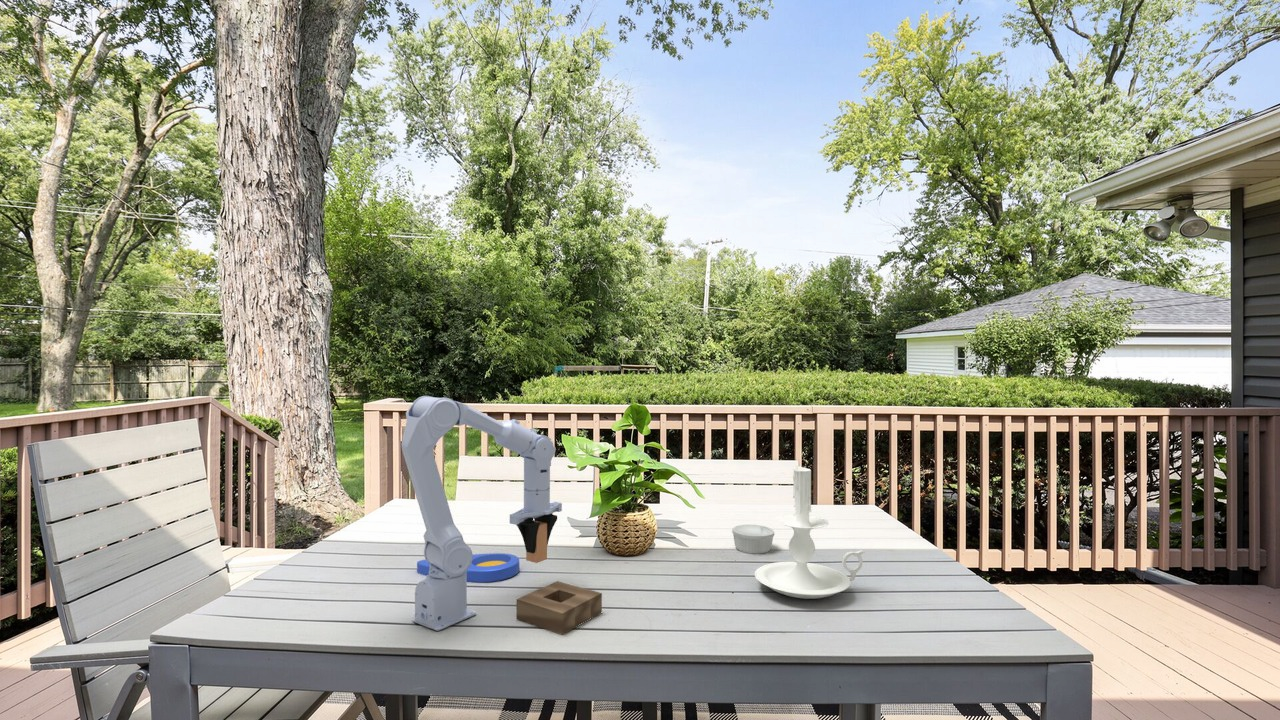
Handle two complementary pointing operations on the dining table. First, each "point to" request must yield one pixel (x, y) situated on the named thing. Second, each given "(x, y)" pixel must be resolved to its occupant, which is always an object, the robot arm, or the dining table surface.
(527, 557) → the peg
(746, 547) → the ramekin
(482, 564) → the location marker
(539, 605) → the socket block
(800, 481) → the candlestick
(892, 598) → the dining table surface
